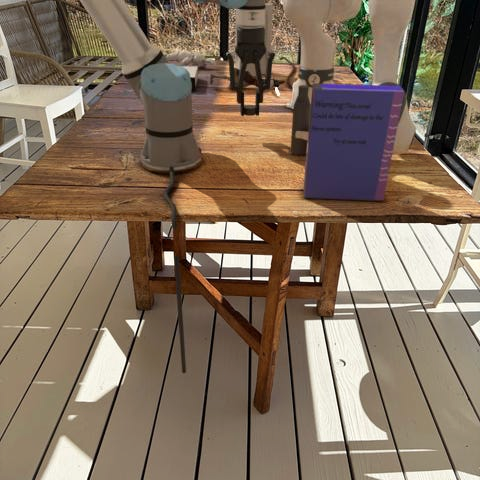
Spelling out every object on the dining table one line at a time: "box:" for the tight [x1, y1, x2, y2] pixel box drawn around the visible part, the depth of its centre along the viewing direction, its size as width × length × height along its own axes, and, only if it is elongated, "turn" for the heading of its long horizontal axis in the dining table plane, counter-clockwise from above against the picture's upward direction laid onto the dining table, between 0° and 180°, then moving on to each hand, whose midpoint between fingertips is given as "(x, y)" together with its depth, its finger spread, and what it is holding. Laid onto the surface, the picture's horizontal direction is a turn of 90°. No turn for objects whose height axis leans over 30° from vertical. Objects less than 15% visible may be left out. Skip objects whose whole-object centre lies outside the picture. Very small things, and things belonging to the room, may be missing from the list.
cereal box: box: [302, 83, 405, 202], centre depth 102 cm, size 17×5×24 cm, turn 86°
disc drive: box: [182, 65, 199, 92], centre depth 195 cm, size 18×22×5 cm
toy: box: [162, 50, 218, 68], centre depth 224 cm, size 24×25×7 cm
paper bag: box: [234, 2, 274, 76], centre depth 210 cm, size 19×15×28 cm
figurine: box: [209, 67, 287, 89], centre depth 190 cm, size 24×8×30 cm
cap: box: [244, 104, 257, 117], centre depth 137 cm, size 4×4×2 cm
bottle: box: [289, 85, 311, 156], centre depth 127 cm, size 5×5×18 cm
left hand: (249, 114), depth 138 cm, fingers closed on cap, 4 cm apart
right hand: (297, 130), depth 128 cm, fingers closed on bottle, 4 cm apart
